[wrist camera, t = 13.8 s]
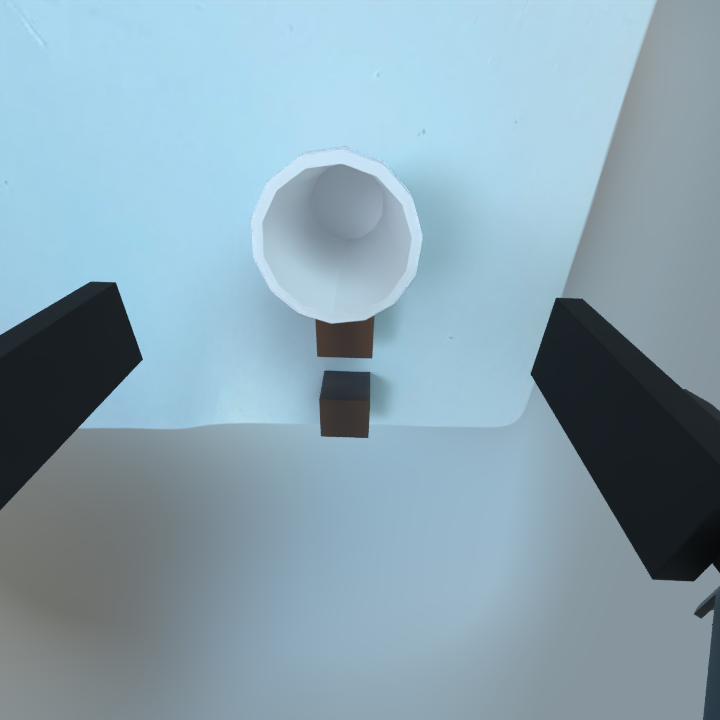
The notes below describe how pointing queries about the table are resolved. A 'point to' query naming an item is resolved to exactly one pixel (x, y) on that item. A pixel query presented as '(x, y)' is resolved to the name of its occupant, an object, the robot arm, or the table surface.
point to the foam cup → (336, 235)
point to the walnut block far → (345, 404)
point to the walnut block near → (345, 339)
